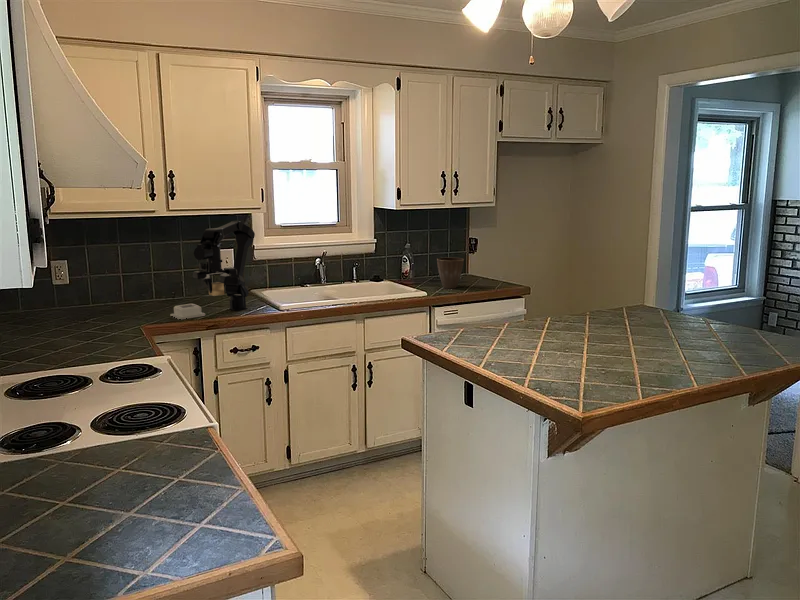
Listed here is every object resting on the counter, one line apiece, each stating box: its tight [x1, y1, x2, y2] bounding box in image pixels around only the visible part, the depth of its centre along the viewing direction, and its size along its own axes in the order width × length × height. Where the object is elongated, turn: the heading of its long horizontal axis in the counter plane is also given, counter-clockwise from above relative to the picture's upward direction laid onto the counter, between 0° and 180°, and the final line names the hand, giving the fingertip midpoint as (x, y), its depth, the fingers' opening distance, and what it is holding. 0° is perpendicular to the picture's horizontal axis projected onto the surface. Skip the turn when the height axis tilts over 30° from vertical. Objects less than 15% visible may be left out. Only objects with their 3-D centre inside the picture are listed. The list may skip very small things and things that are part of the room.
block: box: [208, 281, 225, 297], centre depth 286 cm, size 5×5×5 cm
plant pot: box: [436, 256, 465, 289], centre depth 354 cm, size 15×15×16 cm
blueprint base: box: [170, 303, 206, 320], centre depth 289 cm, size 12×10×5 cm
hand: (216, 292), depth 286 cm, fingers closed on block, 5 cm apart
